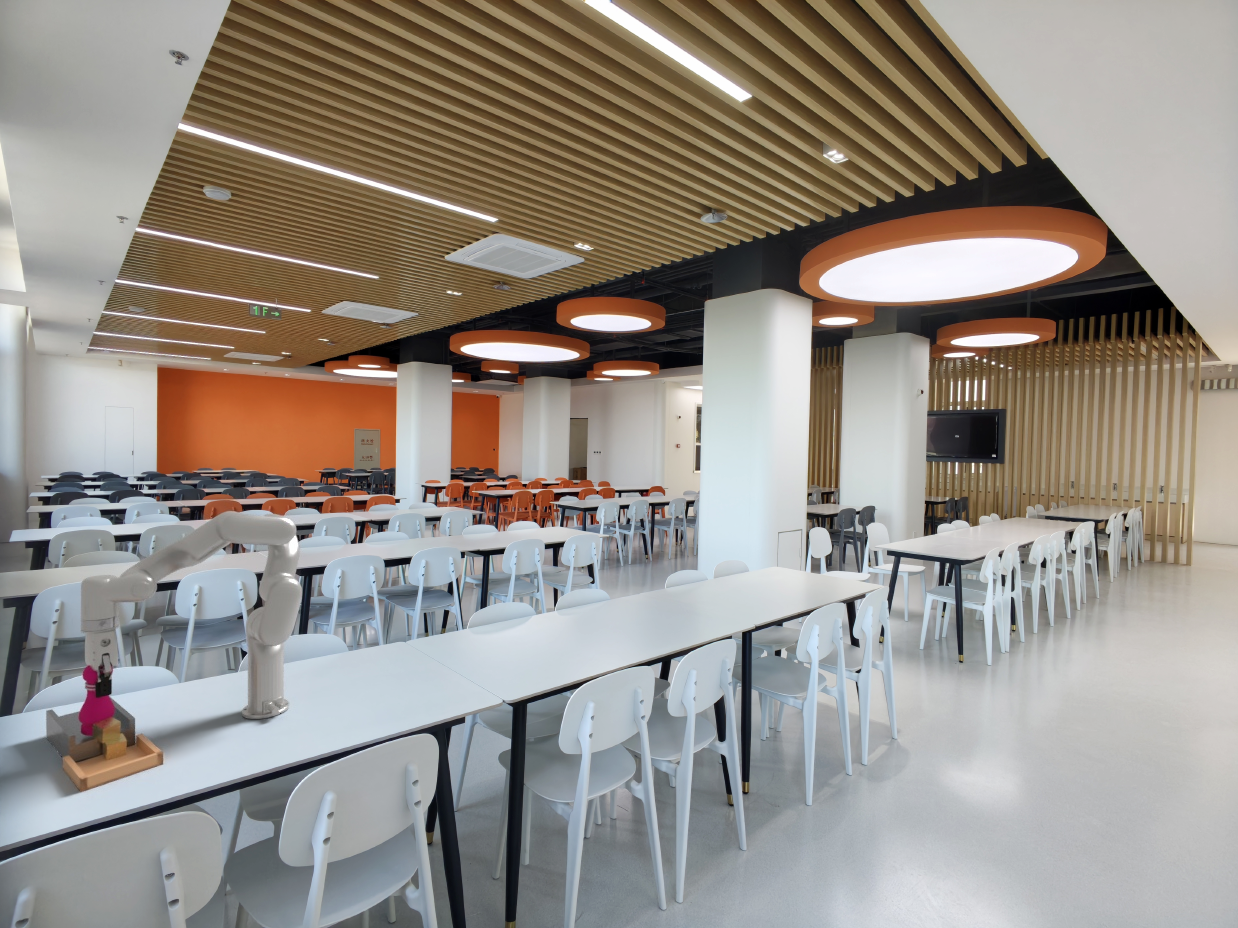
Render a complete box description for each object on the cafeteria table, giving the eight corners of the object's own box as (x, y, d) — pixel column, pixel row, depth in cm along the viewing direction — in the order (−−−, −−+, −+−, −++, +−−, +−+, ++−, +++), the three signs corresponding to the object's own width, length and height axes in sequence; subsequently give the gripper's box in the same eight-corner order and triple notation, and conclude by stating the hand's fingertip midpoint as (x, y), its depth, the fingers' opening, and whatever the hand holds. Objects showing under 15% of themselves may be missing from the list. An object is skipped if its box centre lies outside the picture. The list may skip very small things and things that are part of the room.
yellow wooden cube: (122, 746, 160) (126, 754, 158) (102, 752, 157) (106, 760, 155) (122, 732, 160) (126, 740, 157) (103, 738, 157) (106, 746, 154)
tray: (163, 763, 155) (163, 752, 154) (80, 791, 142) (80, 779, 142) (141, 744, 164) (141, 733, 164) (62, 768, 151) (62, 756, 151)
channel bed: (135, 745, 164) (135, 718, 163) (69, 766, 153) (69, 736, 153) (108, 720, 178) (108, 695, 178) (46, 737, 167) (46, 710, 167)
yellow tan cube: (120, 735, 159) (120, 721, 158) (102, 743, 155) (103, 728, 154) (110, 730, 160) (110, 716, 159) (92, 737, 156) (93, 723, 156)
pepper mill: (94, 739, 156) (95, 666, 153) (70, 733, 157) (71, 660, 154) (121, 724, 163) (123, 654, 160) (98, 718, 164) (100, 648, 161)
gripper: (128, 626, 156) (128, 696, 156) (108, 614, 166) (108, 680, 167) (90, 633, 150) (90, 706, 150) (72, 620, 160) (72, 688, 161)
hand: (99, 691), depth 158 cm, fingers closed on pepper mill, 5 cm apart
